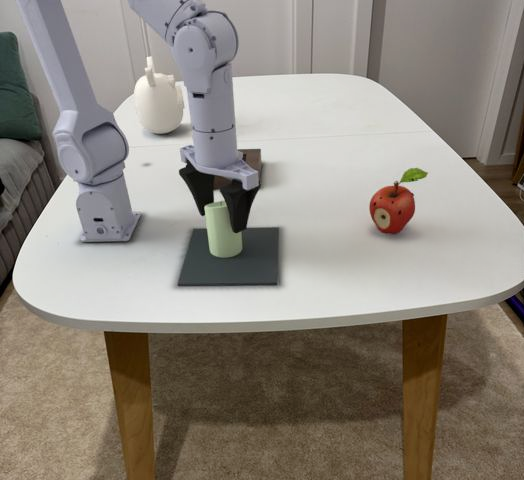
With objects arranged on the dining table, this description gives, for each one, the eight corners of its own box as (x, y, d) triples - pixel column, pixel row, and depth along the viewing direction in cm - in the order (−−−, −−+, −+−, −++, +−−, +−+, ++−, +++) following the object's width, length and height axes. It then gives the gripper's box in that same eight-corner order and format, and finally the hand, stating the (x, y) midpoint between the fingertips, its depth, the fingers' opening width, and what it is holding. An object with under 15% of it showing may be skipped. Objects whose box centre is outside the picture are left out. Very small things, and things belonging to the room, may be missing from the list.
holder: (258, 188, 95) (258, 172, 93) (195, 189, 96) (193, 173, 94) (261, 163, 104) (260, 148, 102) (203, 164, 105) (201, 150, 103)
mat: (277, 284, 71) (277, 282, 70) (177, 285, 72) (177, 283, 71) (278, 229, 83) (278, 227, 82) (193, 230, 83) (193, 228, 83)
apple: (379, 244, 78) (386, 181, 71) (360, 224, 83) (366, 164, 76) (424, 236, 79) (436, 173, 73) (402, 217, 84) (412, 156, 78)
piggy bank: (196, 134, 118) (187, 62, 108) (147, 144, 115) (134, 70, 105) (179, 120, 127) (170, 51, 117) (133, 128, 123) (120, 59, 113)
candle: (205, 245, 79) (199, 195, 73) (236, 238, 80) (232, 189, 75) (215, 261, 75) (209, 209, 70) (246, 253, 76) (243, 202, 71)
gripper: (274, 129, 63) (276, 228, 72) (203, 107, 72) (213, 198, 81) (231, 145, 60) (239, 246, 69) (162, 119, 68) (177, 213, 77)
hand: (222, 221), depth 75 cm, fingers open, 7 cm apart
